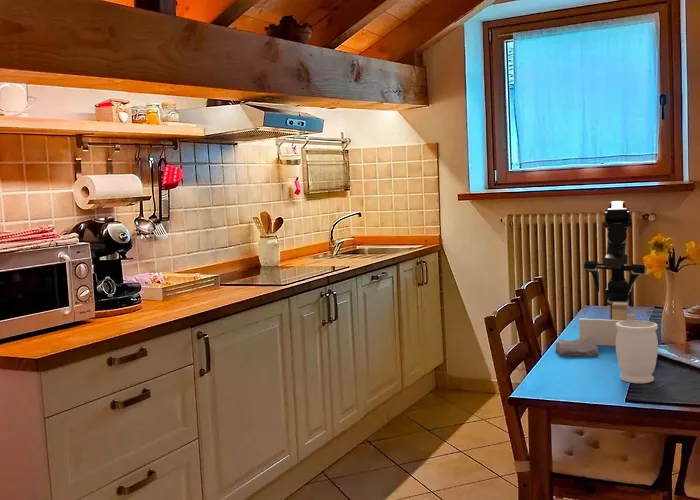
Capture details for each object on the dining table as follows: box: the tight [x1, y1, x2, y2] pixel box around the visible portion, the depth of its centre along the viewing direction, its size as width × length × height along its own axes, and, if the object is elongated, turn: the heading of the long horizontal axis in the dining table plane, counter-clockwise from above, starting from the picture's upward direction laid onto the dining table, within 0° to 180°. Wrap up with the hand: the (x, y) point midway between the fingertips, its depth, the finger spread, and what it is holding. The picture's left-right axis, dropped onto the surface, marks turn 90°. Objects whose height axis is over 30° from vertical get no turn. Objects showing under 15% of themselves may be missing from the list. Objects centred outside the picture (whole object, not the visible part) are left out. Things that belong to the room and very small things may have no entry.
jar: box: [615, 319, 659, 384], centre depth 194 cm, size 11×10×15 cm
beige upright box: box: [578, 317, 626, 347], centre depth 234 cm, size 3×14×8 cm, turn 64°
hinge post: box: [627, 313, 637, 320], centre depth 230 cm, size 2×2×10 cm
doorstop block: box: [612, 303, 629, 321], centre depth 238 cm, size 4×4×12 cm
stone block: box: [555, 338, 600, 358], centre depth 225 cm, size 12×5×10 cm
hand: (612, 293), depth 242 cm, fingers open, 9 cm apart
